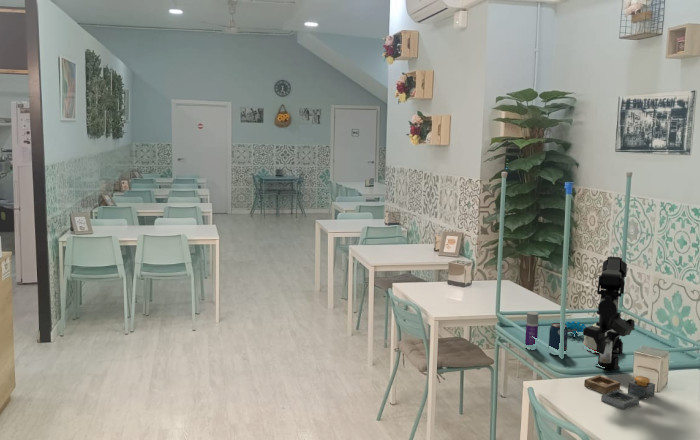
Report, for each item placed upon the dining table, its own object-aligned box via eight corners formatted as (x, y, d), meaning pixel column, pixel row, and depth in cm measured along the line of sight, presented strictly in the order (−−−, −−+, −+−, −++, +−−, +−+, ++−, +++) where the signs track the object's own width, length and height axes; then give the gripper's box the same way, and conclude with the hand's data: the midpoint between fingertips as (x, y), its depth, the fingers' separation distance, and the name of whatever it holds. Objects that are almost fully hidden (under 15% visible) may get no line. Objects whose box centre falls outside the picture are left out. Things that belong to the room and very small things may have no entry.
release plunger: (631, 391, 229) (632, 377, 228) (638, 388, 231) (639, 375, 231) (643, 395, 225) (644, 382, 224) (651, 392, 228) (652, 379, 227)
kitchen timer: (618, 346, 278) (621, 311, 276) (619, 357, 265) (622, 320, 263) (583, 342, 283) (585, 307, 281) (582, 352, 270) (585, 316, 268)
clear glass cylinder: (606, 363, 229) (607, 342, 228) (596, 360, 233) (598, 339, 231) (613, 361, 232) (614, 341, 230) (603, 358, 235) (605, 337, 234)
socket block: (601, 400, 223) (601, 389, 222) (634, 388, 233) (635, 377, 233) (623, 409, 216) (624, 397, 215) (657, 396, 227) (658, 385, 226)
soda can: (567, 357, 264) (569, 328, 262) (549, 356, 265) (550, 326, 263) (565, 351, 270) (567, 323, 269) (547, 350, 272) (549, 321, 270)
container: (528, 350, 271) (530, 314, 268) (522, 347, 275) (524, 311, 273) (539, 350, 272) (541, 314, 270) (532, 346, 276) (534, 311, 274)
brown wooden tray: (584, 385, 235) (584, 379, 235) (598, 381, 240) (599, 374, 239) (605, 394, 228) (605, 387, 228) (619, 388, 233) (620, 382, 233)
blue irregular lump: (588, 331, 292) (585, 319, 285) (588, 343, 289) (584, 332, 282) (562, 331, 297) (558, 319, 290) (561, 343, 294) (557, 331, 287)
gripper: (612, 319, 218) (608, 365, 220) (646, 310, 228) (642, 354, 230) (583, 311, 227) (580, 355, 229) (617, 303, 237) (614, 345, 239)
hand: (605, 352), depth 232 cm, fingers closed on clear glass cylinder, 4 cm apart
